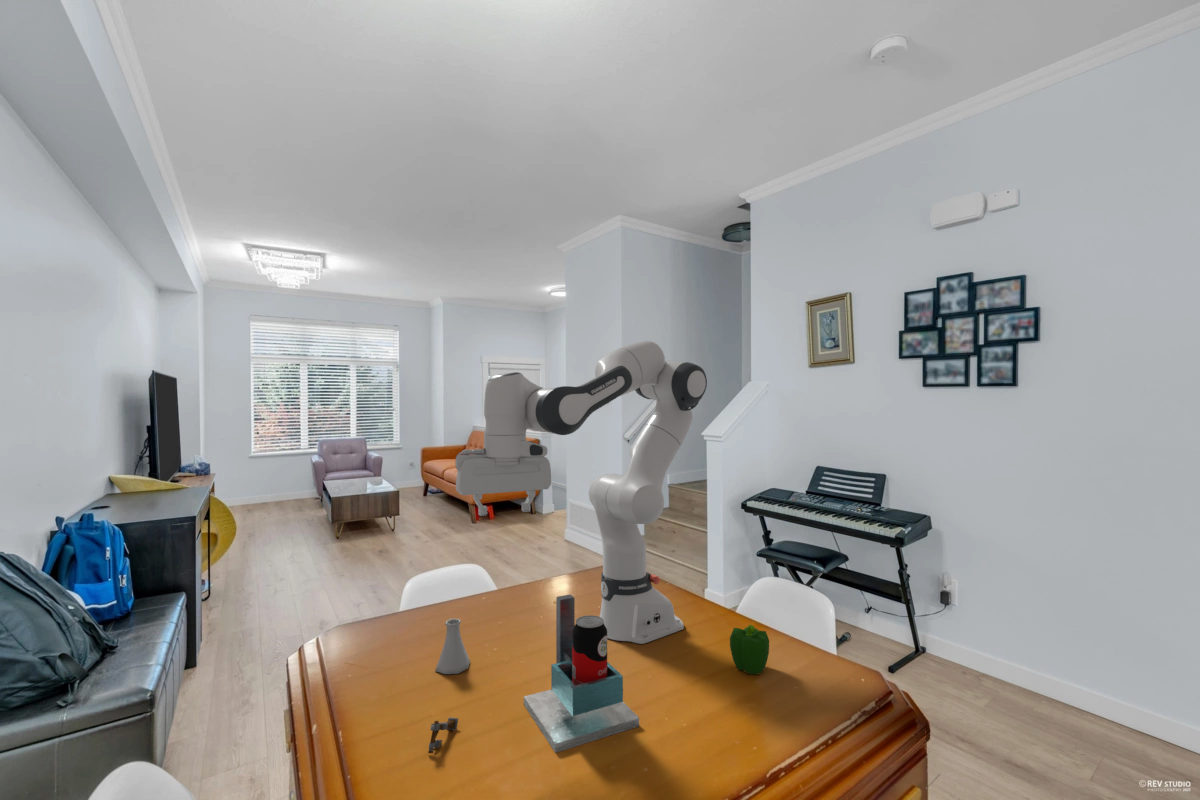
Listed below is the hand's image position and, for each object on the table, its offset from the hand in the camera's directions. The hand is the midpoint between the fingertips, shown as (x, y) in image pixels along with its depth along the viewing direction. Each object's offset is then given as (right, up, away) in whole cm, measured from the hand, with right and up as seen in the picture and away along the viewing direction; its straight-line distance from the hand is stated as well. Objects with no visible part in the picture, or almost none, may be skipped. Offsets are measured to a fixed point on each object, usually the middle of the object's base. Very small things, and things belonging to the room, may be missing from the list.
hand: (504, 513), depth 113 cm
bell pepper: (+53, -34, +2) cm, 63 cm away
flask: (-12, -35, +3) cm, 37 cm away
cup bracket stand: (+17, -34, -15) cm, 41 cm away
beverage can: (+19, -28, -17) cm, 38 cm away
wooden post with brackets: (-6, -34, -23) cm, 41 cm away
